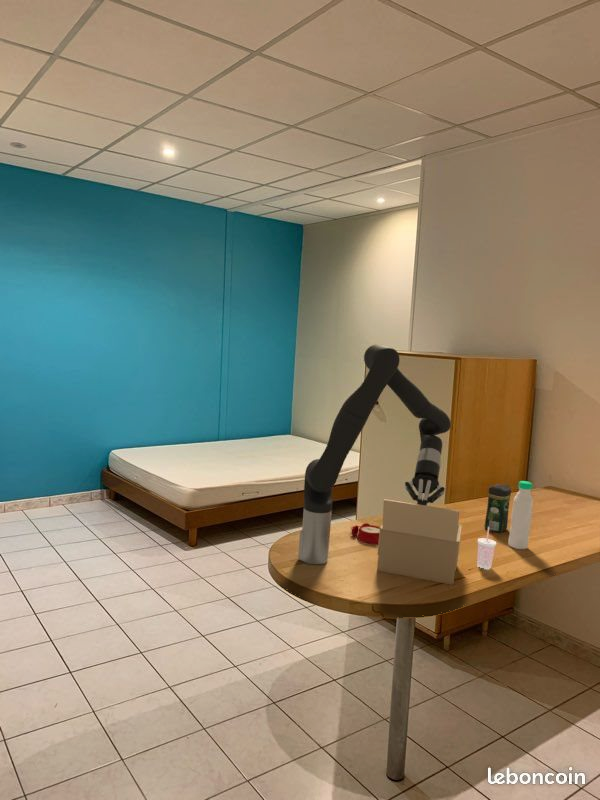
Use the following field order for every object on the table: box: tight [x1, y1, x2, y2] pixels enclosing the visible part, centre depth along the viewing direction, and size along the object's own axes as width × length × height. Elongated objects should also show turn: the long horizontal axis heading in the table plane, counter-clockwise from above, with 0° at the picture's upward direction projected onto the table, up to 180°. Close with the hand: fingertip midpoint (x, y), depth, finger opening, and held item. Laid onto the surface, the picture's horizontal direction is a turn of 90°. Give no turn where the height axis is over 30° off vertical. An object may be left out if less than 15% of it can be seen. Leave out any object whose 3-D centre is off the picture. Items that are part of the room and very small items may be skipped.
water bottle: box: [507, 480, 534, 550], centre depth 229 cm, size 7×7×25 cm
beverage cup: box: [476, 527, 497, 570], centre depth 207 cm, size 6×6×14 cm
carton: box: [376, 523, 463, 586], centre depth 201 cm, size 25×18×14 cm
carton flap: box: [381, 498, 460, 542], centre depth 189 cm, size 23×11×1 cm
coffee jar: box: [484, 483, 512, 533], centre depth 249 cm, size 10×8×19 cm
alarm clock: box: [350, 522, 381, 545], centre depth 227 cm, size 10×6×15 cm
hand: (420, 512), depth 189 cm, fingers closed
